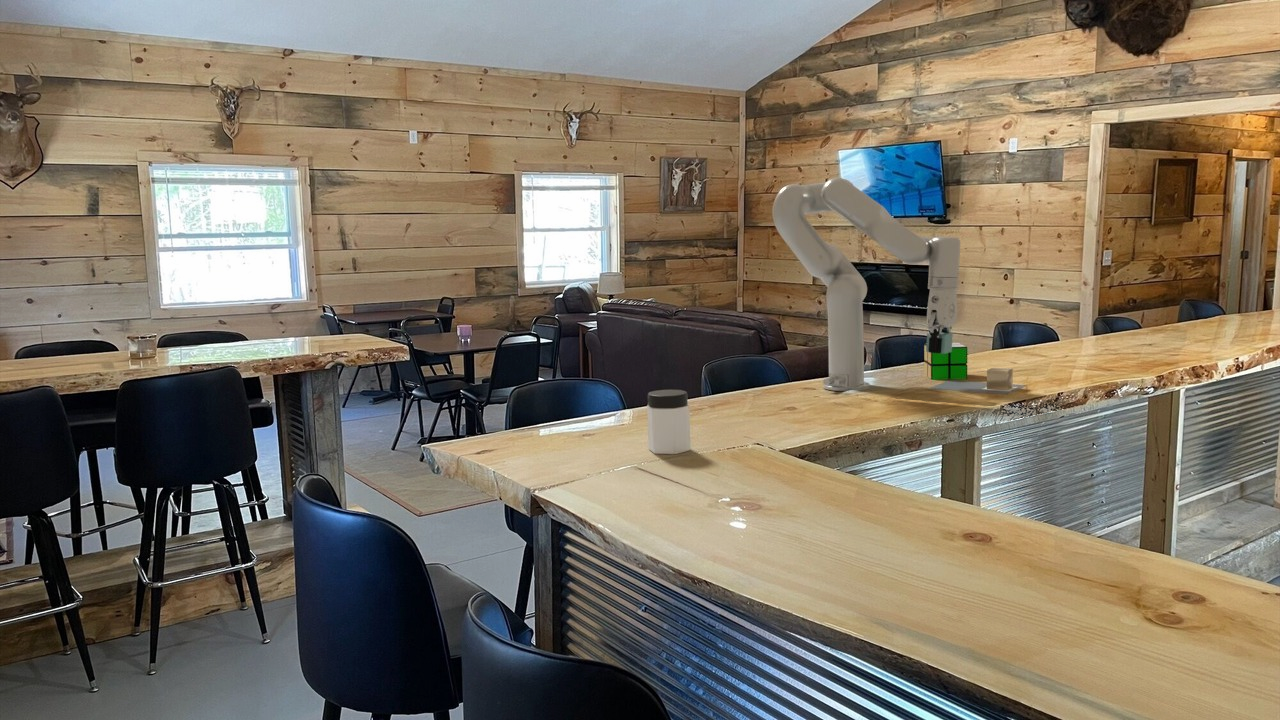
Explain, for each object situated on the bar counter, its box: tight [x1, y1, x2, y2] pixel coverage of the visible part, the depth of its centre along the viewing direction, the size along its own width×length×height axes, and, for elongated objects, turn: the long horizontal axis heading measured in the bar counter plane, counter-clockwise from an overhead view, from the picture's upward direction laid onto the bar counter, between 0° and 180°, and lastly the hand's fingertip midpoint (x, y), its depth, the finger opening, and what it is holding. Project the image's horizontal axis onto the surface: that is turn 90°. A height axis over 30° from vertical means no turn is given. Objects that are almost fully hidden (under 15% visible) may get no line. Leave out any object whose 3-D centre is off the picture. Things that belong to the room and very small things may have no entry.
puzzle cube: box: [923, 342, 968, 381], centre depth 266 cm, size 10×10×10 cm
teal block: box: [926, 332, 954, 354], centre depth 247 cm, size 5×5×5 cm
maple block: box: [986, 367, 1014, 390], centre depth 242 cm, size 5×5×5 cm
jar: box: [646, 389, 692, 455], centre depth 190 cm, size 9×8×12 cm
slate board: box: [926, 379, 1028, 396], centre depth 247 cm, size 16×21×1 cm
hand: (939, 351), depth 247 cm, fingers closed on teal block, 5 cm apart
